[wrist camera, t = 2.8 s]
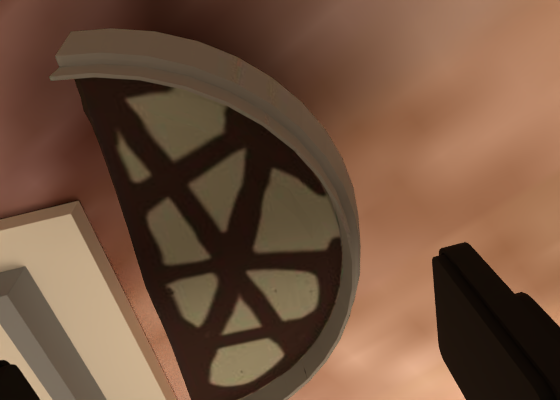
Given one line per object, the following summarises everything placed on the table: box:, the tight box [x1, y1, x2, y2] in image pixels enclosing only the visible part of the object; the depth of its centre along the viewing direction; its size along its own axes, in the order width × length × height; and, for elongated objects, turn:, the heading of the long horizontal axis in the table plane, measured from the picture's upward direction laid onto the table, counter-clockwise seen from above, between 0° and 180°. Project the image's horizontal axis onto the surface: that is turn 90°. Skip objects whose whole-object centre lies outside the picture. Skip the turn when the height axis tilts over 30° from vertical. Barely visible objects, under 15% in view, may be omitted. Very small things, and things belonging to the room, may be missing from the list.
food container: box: [49, 28, 360, 400], centre depth 16 cm, size 12×6×10 cm, turn 8°
